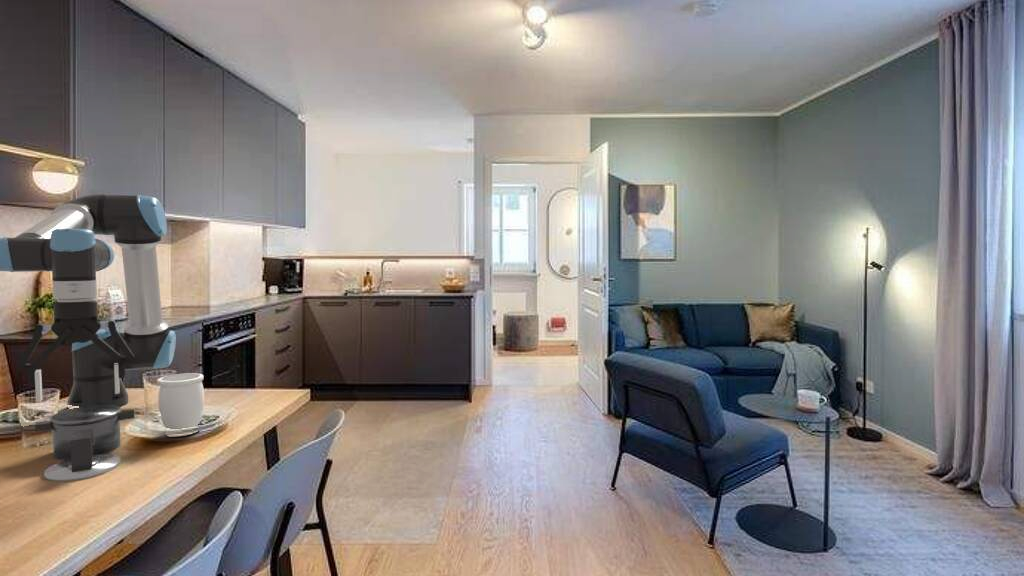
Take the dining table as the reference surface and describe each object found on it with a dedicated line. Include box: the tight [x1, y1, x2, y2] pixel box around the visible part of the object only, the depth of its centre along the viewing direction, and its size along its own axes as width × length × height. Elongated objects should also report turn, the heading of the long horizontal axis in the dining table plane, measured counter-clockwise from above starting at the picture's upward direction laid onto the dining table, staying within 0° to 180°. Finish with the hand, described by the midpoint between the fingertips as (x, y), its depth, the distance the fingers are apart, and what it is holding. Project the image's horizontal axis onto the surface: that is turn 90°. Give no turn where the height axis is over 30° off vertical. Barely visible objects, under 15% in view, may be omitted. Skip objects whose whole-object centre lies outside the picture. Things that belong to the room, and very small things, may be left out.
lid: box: [43, 429, 121, 482], centre depth 124 cm, size 13×13×8 cm
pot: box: [34, 405, 135, 460], centre depth 136 cm, size 14×19×9 cm
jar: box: [157, 372, 205, 429], centre depth 148 cm, size 11×10×15 cm
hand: (79, 396), depth 123 cm, fingers open, 13 cm apart
